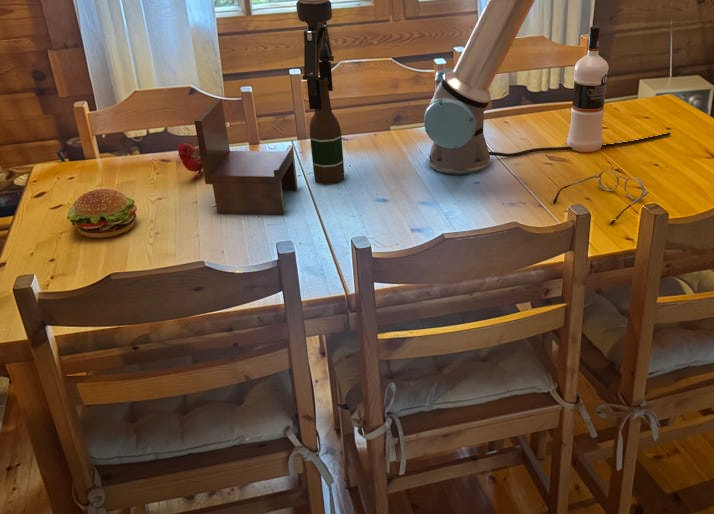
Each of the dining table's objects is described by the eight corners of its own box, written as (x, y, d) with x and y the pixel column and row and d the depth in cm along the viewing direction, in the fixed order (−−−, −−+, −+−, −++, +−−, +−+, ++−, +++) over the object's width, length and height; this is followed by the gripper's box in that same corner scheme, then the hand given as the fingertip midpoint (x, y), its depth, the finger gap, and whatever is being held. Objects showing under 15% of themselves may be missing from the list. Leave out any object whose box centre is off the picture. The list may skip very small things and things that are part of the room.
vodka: (580, 138, 218) (591, 20, 202) (609, 146, 213) (622, 26, 196) (559, 147, 213) (568, 26, 196) (587, 156, 208) (599, 32, 191)
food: (88, 213, 183) (79, 179, 179) (148, 215, 182) (140, 181, 177) (58, 240, 172) (48, 205, 167) (122, 242, 170) (114, 207, 166)
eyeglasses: (653, 204, 183) (656, 183, 180) (613, 225, 174) (615, 204, 171) (591, 184, 193) (593, 163, 190) (550, 203, 184) (552, 182, 181)
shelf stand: (297, 188, 193) (287, 99, 181) (283, 215, 181) (271, 121, 169) (229, 187, 194) (215, 98, 182) (210, 213, 182) (194, 120, 170)
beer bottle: (340, 186, 194) (331, 84, 180) (308, 184, 195) (298, 82, 182) (349, 173, 200) (342, 74, 187) (319, 171, 201) (309, 72, 188)
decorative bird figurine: (179, 187, 195) (171, 146, 189) (214, 160, 209) (208, 122, 203) (190, 188, 194) (182, 147, 188) (224, 161, 208) (218, 123, 203)
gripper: (307, -12, 185) (315, 83, 197) (283, 12, 165) (293, 116, 177) (340, -11, 185) (346, 83, 197) (319, 13, 164) (328, 117, 176)
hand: (321, 99), depth 187 cm, fingers open, 13 cm apart
